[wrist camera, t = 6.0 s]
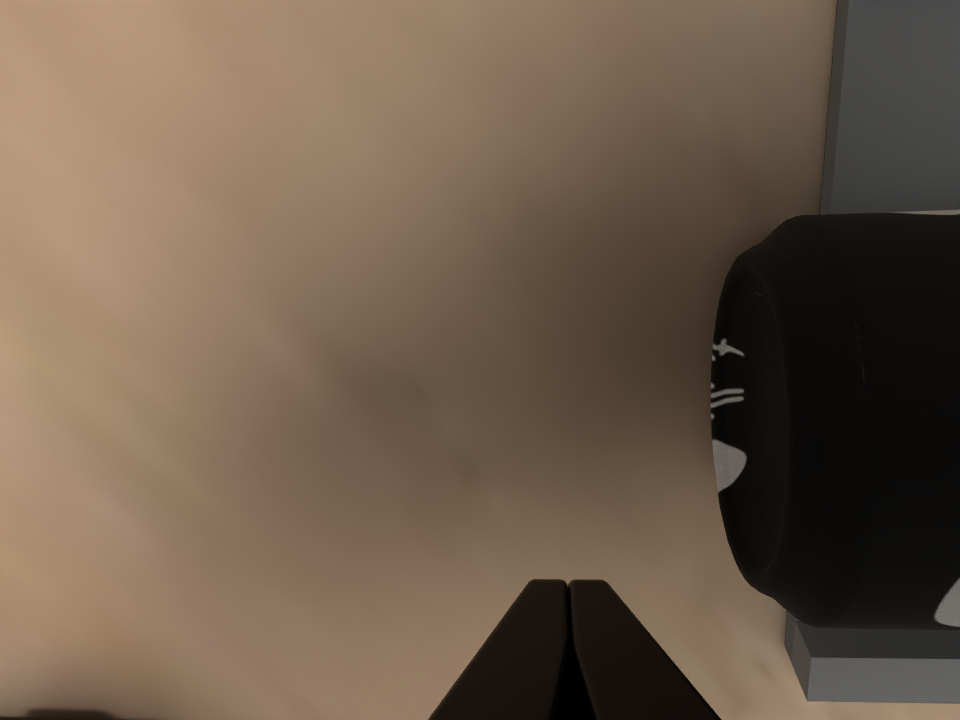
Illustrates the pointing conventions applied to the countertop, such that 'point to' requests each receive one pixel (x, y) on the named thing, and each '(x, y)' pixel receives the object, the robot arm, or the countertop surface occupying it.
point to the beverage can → (844, 418)
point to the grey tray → (873, 189)
